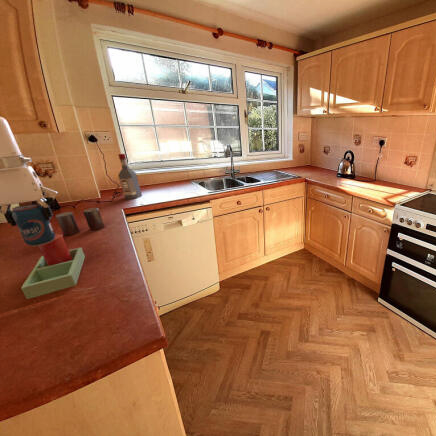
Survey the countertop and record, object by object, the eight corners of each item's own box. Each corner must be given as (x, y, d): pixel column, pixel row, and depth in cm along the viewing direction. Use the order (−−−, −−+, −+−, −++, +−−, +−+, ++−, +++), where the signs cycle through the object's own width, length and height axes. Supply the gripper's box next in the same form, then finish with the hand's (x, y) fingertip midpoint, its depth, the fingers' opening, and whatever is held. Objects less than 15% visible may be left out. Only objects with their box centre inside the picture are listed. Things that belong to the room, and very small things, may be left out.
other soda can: (48, 275, 84) (33, 244, 79) (53, 266, 89) (39, 237, 85) (73, 269, 87) (60, 239, 83) (76, 260, 92) (64, 232, 88)
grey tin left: (62, 237, 114) (54, 217, 110) (65, 232, 119) (57, 213, 115) (78, 233, 117) (71, 214, 113) (80, 229, 122) (73, 211, 118)
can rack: (27, 300, 73) (20, 288, 71) (46, 266, 90) (41, 256, 88) (76, 286, 78) (71, 274, 77) (85, 257, 96) (81, 247, 94)
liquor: (131, 195, 178) (119, 153, 167) (143, 195, 178) (132, 153, 167) (123, 199, 170) (109, 155, 159) (135, 198, 169) (123, 154, 158)
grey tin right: (89, 231, 119) (82, 212, 115) (90, 227, 124) (83, 209, 120) (104, 228, 122) (97, 210, 118) (105, 224, 127) (98, 206, 123)
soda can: (23, 249, 73) (5, 212, 68) (30, 241, 78) (13, 205, 74) (54, 243, 76) (38, 207, 72) (58, 235, 82) (44, 201, 77)
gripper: (50, 158, 75) (71, 212, 82) (-34, 165, 67) (-3, 224, 73) (43, 161, 69) (67, 219, 76) (-50, 169, 61) (-14, 233, 68)
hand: (32, 221), depth 75 cm, fingers closed on soda can, 7 cm apart
